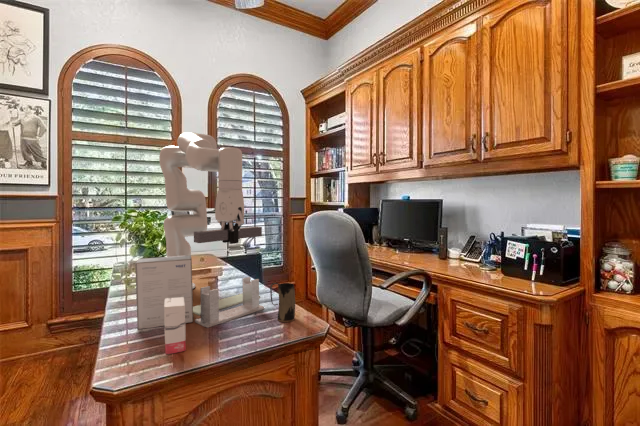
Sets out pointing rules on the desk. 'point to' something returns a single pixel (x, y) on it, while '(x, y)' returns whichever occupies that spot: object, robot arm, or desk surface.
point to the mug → (285, 302)
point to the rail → (225, 234)
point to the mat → (223, 303)
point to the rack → (214, 317)
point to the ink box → (174, 325)
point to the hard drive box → (162, 288)
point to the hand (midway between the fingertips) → (230, 242)
